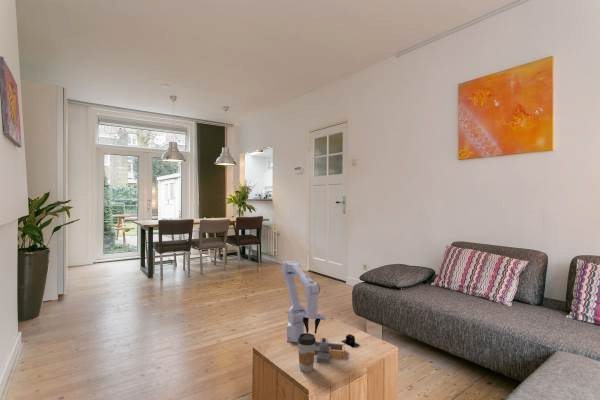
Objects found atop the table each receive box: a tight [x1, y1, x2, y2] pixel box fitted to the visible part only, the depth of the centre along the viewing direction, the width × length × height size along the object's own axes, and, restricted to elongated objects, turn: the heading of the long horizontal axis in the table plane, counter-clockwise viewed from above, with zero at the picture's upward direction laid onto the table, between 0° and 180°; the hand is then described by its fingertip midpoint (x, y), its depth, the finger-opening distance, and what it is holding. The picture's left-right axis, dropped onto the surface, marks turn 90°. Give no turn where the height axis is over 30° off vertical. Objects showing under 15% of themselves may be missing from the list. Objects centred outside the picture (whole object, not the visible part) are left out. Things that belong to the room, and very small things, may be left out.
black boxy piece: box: [340, 333, 360, 349], centre depth 174 cm, size 12×7×5 cm, turn 36°
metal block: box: [318, 337, 329, 351], centre depth 163 cm, size 4×4×5 cm
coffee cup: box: [298, 332, 317, 373], centre depth 147 cm, size 8×8×15 cm
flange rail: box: [315, 341, 346, 359], centre depth 163 cm, size 16×8×3 cm, turn 79°
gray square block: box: [316, 352, 332, 364], centre depth 155 cm, size 6×6×2 cm
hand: (311, 332), depth 164 cm, fingers open, 4 cm apart
